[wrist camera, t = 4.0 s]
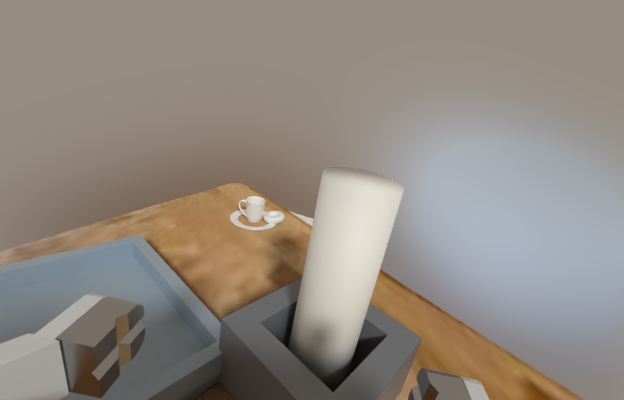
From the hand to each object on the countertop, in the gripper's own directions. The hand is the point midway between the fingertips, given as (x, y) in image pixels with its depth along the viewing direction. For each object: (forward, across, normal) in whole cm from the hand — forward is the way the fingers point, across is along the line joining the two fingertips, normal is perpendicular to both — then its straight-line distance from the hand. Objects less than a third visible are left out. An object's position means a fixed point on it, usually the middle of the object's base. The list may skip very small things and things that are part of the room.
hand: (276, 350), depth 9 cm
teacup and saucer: (+36, -9, -17) cm, 41 cm away
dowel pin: (+11, +2, -16) cm, 19 cm away
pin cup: (+11, +2, -16) cm, 19 cm away
